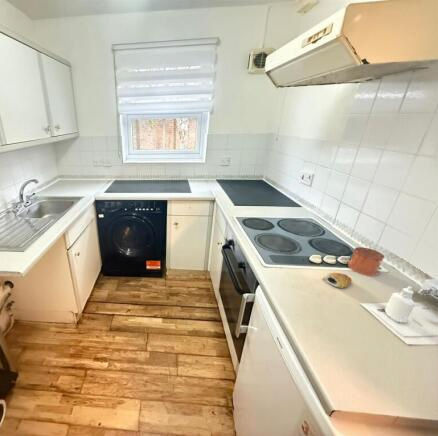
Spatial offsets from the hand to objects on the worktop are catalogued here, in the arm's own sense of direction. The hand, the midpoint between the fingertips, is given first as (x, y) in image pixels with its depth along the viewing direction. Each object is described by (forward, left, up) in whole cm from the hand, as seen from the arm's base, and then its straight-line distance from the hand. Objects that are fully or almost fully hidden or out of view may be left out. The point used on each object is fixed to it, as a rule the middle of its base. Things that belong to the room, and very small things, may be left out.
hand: (435, 302), depth 74 cm
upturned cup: (+10, -26, -7) cm, 28 cm away
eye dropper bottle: (+9, +3, -7) cm, 12 cm away
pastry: (+22, -10, -7) cm, 25 cm away
